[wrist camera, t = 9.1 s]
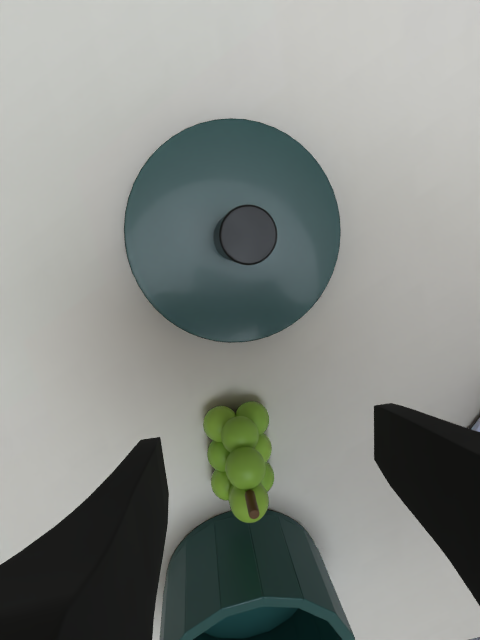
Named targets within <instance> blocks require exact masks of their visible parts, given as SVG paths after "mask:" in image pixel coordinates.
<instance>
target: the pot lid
mask: <svg viewBox="0 0 480 640" xmlns="http://www.w3.org/2000/svg"><path fill="white" fill-rule="evenodd" d="M124 235H125V247H126V252H127V257H128V261H129V264H130V267H131V270H132V273H133V275H134V277H135V279H136V281H137V283H138V286H139V287H140V289H141V290H142V292H143V293H144V295H145V297H146V298H147V299H148V300H149V302H150V303H151V304H152V305H153V306H154V308H155V309H156V310H157V311H158V312H159V313H161V314H162V315H163V316H164V317H165V318H166V319H167V320H169V321H170V322H172V323H173V324H174V325H176V326H177V327H179V328H181V329H183V330H185V331H187V332H188V333H191V334H193V335H196V336H199V337H201V338H205V339H209V340H213V341H220V342H247V341H253V340H258V339H261V338H265V337H268V336H270V335H273V334H275V333H277V332H280V331H282V330H283V329H285V328H287V327H288V326H290V325H292V324H293V323H294V322H296V321H297V320H298V319H300V318H301V317H302V316H303V315H304V314H305V313H306V312H307V311H308V310H309V309H310V308H311V307H312V306H313V305H314V304H315V302H316V301H317V300H318V299H319V297H320V296H321V294H322V293H323V291H324V289H325V288H326V286H327V284H328V282H329V280H330V278H331V276H332V273H333V271H334V267H335V264H336V261H337V257H338V252H339V246H340V217H339V211H338V206H337V202H336V198H335V195H334V192H333V189H332V187H331V185H330V183H329V180H328V178H327V176H326V175H325V173H324V171H323V170H322V168H321V167H320V165H319V164H318V162H317V161H316V160H315V159H314V157H313V156H312V155H311V154H310V153H309V152H308V151H307V150H306V149H305V148H304V147H303V146H302V145H301V144H300V143H299V142H297V141H296V140H294V139H293V138H292V137H290V136H289V135H287V134H286V133H284V132H282V131H280V130H278V129H276V128H274V127H271V126H269V125H266V124H263V123H260V122H256V121H251V120H246V119H218V120H212V121H208V122H203V123H200V124H197V125H195V126H192V127H190V128H187V129H185V130H183V131H181V132H180V133H178V134H176V135H175V136H173V137H171V138H170V139H169V140H168V141H166V142H165V143H164V144H163V145H161V146H160V147H159V148H158V149H157V150H156V151H155V152H154V153H153V155H152V156H151V157H150V158H149V159H148V161H147V162H146V163H145V165H144V166H143V168H142V169H141V171H140V173H139V174H138V176H137V178H136V180H135V182H134V184H133V187H132V190H131V193H130V195H129V198H128V203H127V208H126V212H125V224H124Z"/></svg>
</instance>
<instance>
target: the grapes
mask: <svg viewBox="0 0 480 640" xmlns="http://www.w3.org/2000/svg"><path fill="white" fill-rule="evenodd" d="M268 424H269V415H268V412H267V410H266V409H265V407H264V406H263V405H261V404H260V403H258V402H254V401H250V402H246V403H244V404H242V405H241V406H240V407H239V408H238V409H237V411H236V413H234V411H233V410H231V409H230V408H228V407H225V406H217V407H214V408H212V409H211V410H210V411H209V412H208V413H207V414H206V416H205V418H204V423H203V426H204V431H205V433H206V435H207V436H208V437H209V438H210V439H211V440H213V441H212V442H211V443H210V445H209V447H208V452H207V456H208V460H209V463H210V464H211V466H212V467H213V468H214V469H216V470H215V471H214V473H213V475H212V478H211V486H212V490H213V492H214V493H215V495H216V496H217V497H219V498H220V499H223V500H229V503H230V508H231V510H232V512H233V514H234V515H235V517H236V518H238V519H239V520H240V521H242V522H245V523H253V522H256V521H258V520H260V519H261V518H262V517H263V516H264V515H265V513H266V511H267V509H268V504H269V499H268V494H267V491H269V490H270V488H271V487H272V485H273V482H274V472H273V469H272V467H271V466H270V465H269V463H267V461H268V459H269V458H270V455H271V451H272V447H271V443H270V440H269V438H268V437H267V436H266V435H265V434H264V432H265V430H266V429H267V427H268Z"/></svg>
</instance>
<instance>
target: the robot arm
mask: <svg viewBox="0 0 480 640" xmlns="http://www.w3.org/2000/svg"><path fill="white" fill-rule="evenodd" d="M374 460H375V461H376V463H377V465H378V466H379V468H380V470H381V472H382V473H383V475H384V477H385V478H386V480H387V481H388V483H389V484H390V486H391V487H392V489H393V490H394V491H395V492H396V494H397V495H398V496H399V497H400V499H401V500H402V501H403V502H404V504H405V505H406V506H407V507H408V509H409V510H410V511H411V512H412V514H413V515H414V516H415V517H416V518H417V520H418V521H419V522H420V523H421V525H422V526H423V527H424V528H425V530H426V531H427V532H428V533H429V535H430V536H431V537H432V538H433V539H434V541H435V542H436V543H437V544H438V546H439V547H440V548H441V550H442V551H443V552H444V554H445V555H446V556H447V558H448V559H449V560H450V562H451V563H452V565H453V566H454V568H455V569H456V571H457V572H458V574H459V575H460V577H461V578H462V580H463V581H464V583H465V584H466V586H467V587H468V589H469V590H470V592H471V593H472V595H473V596H474V598H475V599H476V601H477V602H478V604H479V606H480V418H479V419H478V420H477V422H476V423H475V424H474V426H473V427H472V428H471V429H468V428H465V427H462V426H459V425H456V424H453V423H450V422H447V421H444V420H441V419H438V418H436V417H433V416H430V415H427V414H424V413H421V412H419V411H416V410H413V409H410V408H407V407H404V406H400V405H396V404H392V403H389V404H383V405H376V406H374ZM168 497H169V492H168V486H167V479H166V472H165V466H164V459H163V453H162V446H161V439H160V437H157V438H150V439H144V440H140V441H139V442H138V444H137V445H136V446H135V447H134V448H133V449H132V451H131V452H130V453H129V454H128V455H127V456H126V458H125V459H124V460H123V461H122V462H121V463H120V465H119V466H118V467H117V468H116V469H115V470H114V471H113V473H112V474H111V475H110V476H109V477H108V478H107V479H106V480H105V481H104V482H103V483H102V484H101V485H100V486H99V487H98V488H97V489H96V490H95V491H94V492H93V493H92V494H91V495H90V496H89V497H88V498H87V499H86V500H85V501H84V502H83V503H82V504H81V505H80V506H78V507H77V508H76V509H75V510H74V511H73V512H72V513H70V514H69V515H68V516H67V517H66V518H64V519H63V520H62V521H61V522H60V523H58V524H57V525H56V526H55V527H53V528H52V529H51V530H49V531H48V532H47V533H45V534H44V535H43V536H41V537H40V538H39V539H37V540H36V541H34V542H33V543H32V544H30V545H29V546H28V547H26V548H25V549H24V550H22V551H21V552H19V553H18V554H16V555H15V556H13V557H12V558H10V559H9V560H7V561H6V562H4V563H3V564H1V565H0V640H152V634H153V619H154V611H155V602H156V595H157V589H158V583H159V576H160V570H161V564H162V557H163V551H164V544H165V538H166V531H167V524H168ZM469 640H480V637H478V638H474V639H469Z"/></svg>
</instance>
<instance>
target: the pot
mask: <svg viewBox="0 0 480 640" xmlns="http://www.w3.org/2000/svg"><path fill="white" fill-rule="evenodd" d="M160 640H355V637H354V635H353V632H352V630H351V628H350V625H349V623H348V620H347V618H346V615H345V613H344V611H343V608H342V606H341V603H340V601H339V599H338V596H337V594H336V591H335V589H334V586H333V584H332V582H331V579H330V577H329V574H328V572H327V570H326V567H325V565H324V562H323V560H322V558H321V555H320V553H319V550H318V548H317V547H316V546H315V544H314V542H313V540H312V538H311V537H310V535H309V534H308V532H307V531H306V530H305V529H304V528H303V527H302V526H301V525H300V524H298V523H297V522H296V521H294V520H293V519H291V518H290V517H288V516H285V515H283V514H281V513H278V512H274V511H271V510H267V511H266V513H265V515H264V516H263V517H262V518H261V519H260V520H258V521H256V522H253V523H245V522H242V521H240V520H239V519H238V518H236V517H235V515H234V514H233V512H232V511H230V512H227V513H224V514H221V515H218V516H216V517H214V518H211V519H209V520H208V521H206V522H204V523H203V524H201V525H199V526H198V527H197V528H195V529H194V530H193V531H192V532H191V533H190V534H188V535H187V536H186V537H185V538H184V540H183V541H182V542H181V543H180V545H179V546H178V547H177V549H176V551H175V552H174V554H173V556H172V558H171V560H170V563H169V566H168V569H167V574H166V582H165V587H164V593H163V605H162V617H161V629H160Z"/></svg>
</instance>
